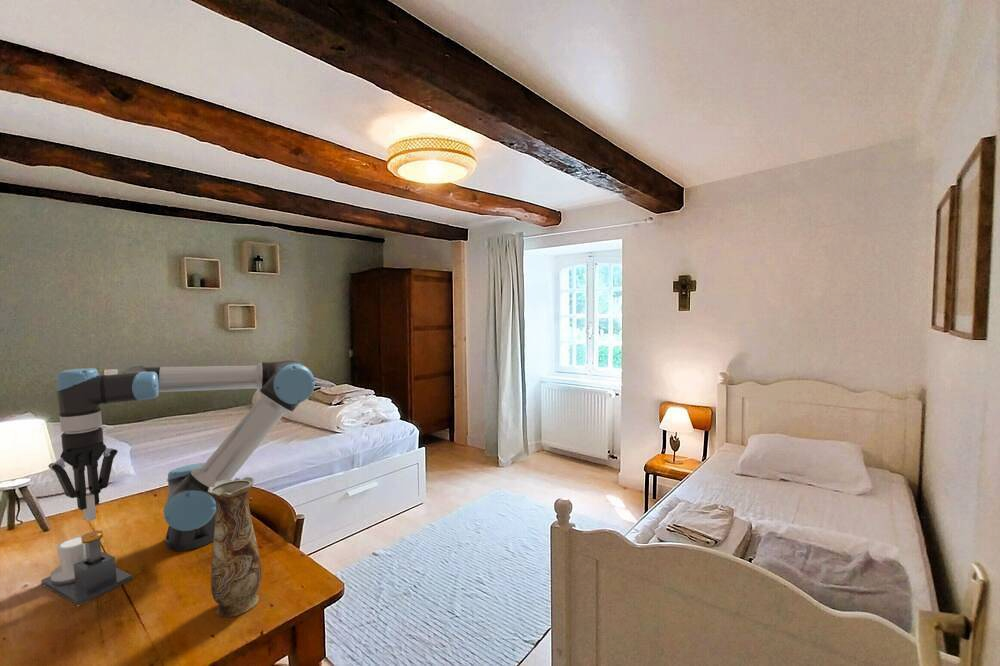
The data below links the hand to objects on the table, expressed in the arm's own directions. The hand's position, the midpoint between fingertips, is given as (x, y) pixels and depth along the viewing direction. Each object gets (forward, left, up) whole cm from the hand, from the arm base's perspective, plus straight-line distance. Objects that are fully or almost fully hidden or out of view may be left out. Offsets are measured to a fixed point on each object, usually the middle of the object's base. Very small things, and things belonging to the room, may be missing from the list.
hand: (89, 519), depth 110 cm
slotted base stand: (+4, -2, -18) cm, 19 cm away
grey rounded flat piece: (+9, -4, -17) cm, 20 cm away
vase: (-42, +7, -19) cm, 46 cm away
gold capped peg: (0, 0, -12) cm, 12 cm away
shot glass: (+9, -4, -16) cm, 18 cm away
